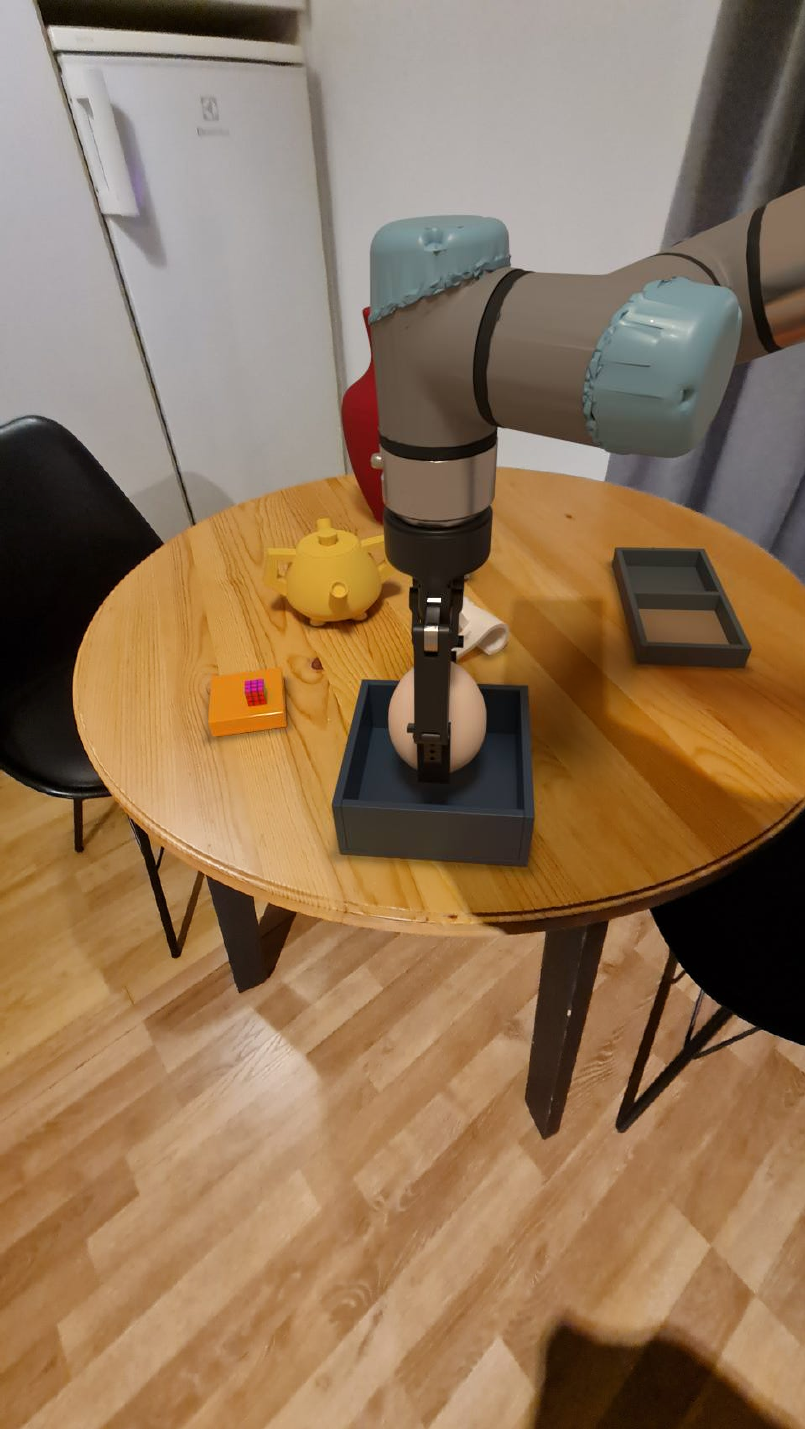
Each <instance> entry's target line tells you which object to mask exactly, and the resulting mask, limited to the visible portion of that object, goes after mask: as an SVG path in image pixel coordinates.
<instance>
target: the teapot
mask: <svg viewBox="0 0 805 1429" xmlns="http://www.w3.org/2000/svg"><path fill="white" fill-rule="evenodd" d="M379 549H381V552H382V555H383V560H382V561H381V562H380V563H379V564H377V562H376V560H375V558H374V557H373V555H372V552H376V551H377V550H379ZM278 562H283V563H288V564H287V567H286V572H285V576H283V575H281V574H279V573H278V567H279V566H278V565H279V564H278ZM397 571H398V570H397V569H395V568H394V567H393V566H392V565H391V564H390V563H389V561H388V560H387V558H386V555H385V545H384V533H383V534H380V535H376V536H372V537H369V538H365V539H361V540H360V539H359V538H358V537H357V536H356V535H354V534H353V533H351V532H349V531H346V530H343V529H342V530H341V529H336V528H334V527H333V522H332V519H331V518H327V517H326V518H319V519H316V531H314V532H312V533H309V534H308V535H305V536H304V537H303V538H302V539H301V540H300V541H299V542H298V544H297V545H296V547H295V548H284V547H283V548H282V547H281V548H279V547H274V548H273V547H267V549H266V553H265V560H264V566H263V572H262V577H261V578H262V583H263V586H266V587H268V588H269V589H272V590H273V591H274V592H276V593H278V594H280V595H282V596H284V597H285V598H286V600H287V602H288V603H289V604H290V606H291V607H292V608H294V609H295V610H296V611H297V612H299V613H300V614H301V615H303V616H305V617H307V618H309V624H310V625H311V626H313V627H322V626H323V625H326V624H327V622H338V621H339V622H340V621H345V620H349V619H351V620H353V621H364V620H366V618H367V617H368V613H367V611H368V609H370V607H371V606H373V604H374V603H376V602H377V601H376V600H378V598H379V597H380V595H381V592H382V588H383V584H384V583H385V582H386V581H388V579H389V578H390V577H392V575H393V574H395V572H397Z"/></svg>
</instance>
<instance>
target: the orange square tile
mask: <svg viewBox="0 0 805 1429" xmlns="http://www.w3.org/2000/svg"><path fill="white" fill-rule="evenodd" d="M209 693H210V694H209V704H208V715H207V716H208V718H207V725H208V727H209V731H210V733H211V736H212V737H213V738H218V737H223V736H230V735H231V736H232V735H238V734H244V733H245V734H246V733H252V732H259V731H267V730H272V729H279V728H280V729H281V728H286V727H287V724H288V723H287V708H286V707H287V706H286V686H285V678H284V674H283V670H282V667H274V668H272V667H271V668H266V669H265V668H264V669H259V670H258V669H257V670H250V671H243V672H235V673H227V674H221V675H219V674H218V675H214V676H212V675H211V678H210V692H209Z"/></svg>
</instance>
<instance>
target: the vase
mask: <svg viewBox="0 0 805 1429" xmlns="http://www.w3.org/2000/svg"><path fill="white" fill-rule="evenodd" d="M361 312H362V313H361V314H362V318H363V322H364V326H365V330H366V334H367V338H368V343H369V349H370V362H369V365H368V367H367V369H366V371H365V372H364V374H362V376H360V378H359V379H357V380H356V381H355V382H354V383H352V384H351V385H350V386H349V387H348V388H347V389H346V391H345V393H344V394H343V396H342V402H341V407H340V412H341V414H340V415H341V424H342V432H343V439H344V442H345V447H346V451H347V455H348V458H349V462H350V465H351V468H352V471H353V474H354V477H355V480H356V483H357V484H358V485H357V486H358V487H359V489H360V491H361V493H362V496H363V498H364V500H365V502H366V505H367V506H368V508H369V510H370V512H371V514H372V516H373V518H374V519H375V520H376V522H377V523H379V524H381V525H383V510H384V508H385V507H386V505H385V504H384V502H383V495H382V480H381V476H382V474H383V469H375V468H373V467H372V465H371V458H372V455H373V454H376V453H380V443H379V430H378V426H379V415H378V404H377V393H376V383H375V372H374V362H373V351H372V341H371V330H370V325H368V317H369V315H370V305H369V306H366V307H363V309H362V311H361Z"/></svg>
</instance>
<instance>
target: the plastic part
mask: <svg viewBox="0 0 805 1429" xmlns="http://www.w3.org/2000/svg"><path fill="white" fill-rule="evenodd" d="M459 635H464V647H463V648H453V649H452V650H451V651H457V656H456V661H457V660H459V659H460V658H462V657H464V656H465V655H466V654H468V653H469V652H471V651H472V650H474V649H475V648H476V647H477V648H478V649H480V650H481V651H482V652H484V653H485V654H487V655H488V656H493V655H495V654H496V653H499V652H500V651H502V650H503V648H504V647H505V646H506V644H507V643H508V640H509V637H510V627H509V625H508V624H507V623H505V622H504V621H502V620H501V619H499V618H498V617H496V616H495V615H493V614H492V613H491V612H489V611H487V610H486V609H482V608H480V607H479V606H477V605H475V604H474V603H473V601H472V600H471V598H469V597H468V596H466V595H464V596H463V608H462V611H461V612H460V614H459Z"/></svg>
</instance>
